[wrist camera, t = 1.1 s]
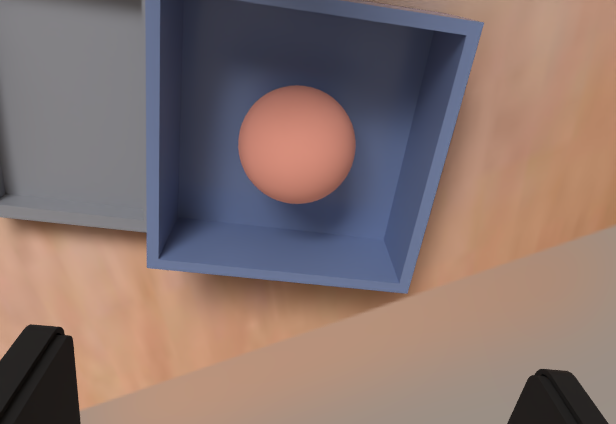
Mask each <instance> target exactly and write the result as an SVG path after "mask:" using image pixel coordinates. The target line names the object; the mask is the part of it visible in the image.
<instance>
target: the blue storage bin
mask: <svg viewBox="0 0 616 424" xmlns="http://www.w3.org/2000/svg"><path fill="white" fill-rule="evenodd" d="M483 25H484V23H483V22H479V21H475V20H471V19H467V18H463V17H459V16H454V15H450V14H446V13H439V12H433V11H427V10H420V9H414V8H407V7H401V6H395V5H388V4H382V3H375V2H369V1H362V0H145V28H146V205H147V268H153V269H163V270H173V271H183V272H194V273H204V274H214V275H224V276H234V277H244V278H254V279H264V280H275V281H285V282H295V283H305V284H315V285H325V286H335V287H345V288H356V289H366V290H376V291H386V292H396V293H406V294H407V293H408V290H409V286H410V283H411V279H412V276H413V272H414V269H415V265H416V261H417V258H418V254H419V251H420V247H421V244H422V240H423V237H424V233H425V230H426V226H427V223H428V219H429V216H430V212H431V208H432V205H433V201H434V198H435V194H436V191H437V187H438V184H439V180H440V177H441V173H442V170H443V166H444V163H445V159H446V155H447V152H448V148H449V145H450V141H451V138H452V134H453V131H454V127H455V124H456V120H457V117H458V113H459V110H460V106H461V102H462V99H463V95H464V92H465V88H466V85H467V81H468V78H469V74H470V71H471V67H472V64H473V60H474V57H475V53H476V49H477V46H478V42H479V39H480V35H481V32H482V28H483ZM294 85H300V86H308V87H313V88H316V89H318V90H321V91H323V92H325V93H327V94H328V95H330V96H331V97H333V98H334V99H335V100H336V101H337V102H338V103H339V104H340V105H341V106H342V107H343V109H344V110H345V111H346V113H347V115H348V116H349V118H350V120H351V123H352V125H353V129H354V133H355V140H356V150H355V157H354V160H353V164H352V167H351V169H350V171H349V173H348V175H347V177H346V178H345V179H344V181H343V182H342V183H341V185H340V186H339V187H338V188H337V189H336V190H334V191H333V192H332V193H330V194H329V195H327V196H326V197H324V198H322V199H319V200H317V201H314V202H310V203H304V204H290V203H284V202H281V201H277V200H275V199H273V198H270V197H269V196H267V195H265V194H264V193H263V192H261V191H260V190H259V189H258V188H257V187H256V186H255V185H254V184H253V183H252V182H251V181H250V179H249V178H248V176H247V175H246V173H245V171H244V169H243V166H242V164H241V160H240V157H239V150H238V139H239V132H240V128H241V125H242V122H243V120H244V118H245V116H246V114H247V113H248V111H249V110H250V108H251V107H252V106H253V105H254V103H255V102H256V101H258V100H259V99H260V98H261V97H262V96H264V95H265V94H267V93H269V92H271V91H273V90H275V89H278V88H281V87H286V86H294Z"/></svg>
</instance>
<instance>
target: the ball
mask: <svg viewBox="0 0 616 424" xmlns="http://www.w3.org/2000/svg"><path fill="white" fill-rule="evenodd" d="M238 150H239V157H240V160H241V164H242V166H243V169H244V171H245V173H246V175H247V176H248V178H249V179H250V181H251V182H252V183H253V184H254V185H255V186H256V187H257V188H258V189H259V190H260V191H261V192H263V193H264V194H265V195H267V196H269V197H270V198H273V199H275V200H277V201H281V202H284V203H290V204H304V203H310V202H314V201H317V200H319V199H322V198H324V197H326V196H327V195H329V194H330V193H332V192H333V191H334V190H336V189H337V188H338V187H339V186H340V185H341V183H342V182H343V181H344V179H345V178H346V177H347V175H348V173H349V171H350V169H351V167H352V164H353V160H354V157H355V150H356V140H355V133H354V129H353V125H352V123H351V120H350V118H349V116H348V115H347V113H346V111H345V110H344V109H343V107H342V106H341V105H340V104H339V103H338V102H337V101H336V100H335V99H334V98H333V97H331V96H330V95H328V94H327V93H325V92H323V91H321V90H318V89H316V88H313V87H308V86H300V85H294V86H286V87H281V88H278V89H275V90H273V91H271V92H269V93H267V94H265V95H264V96H262V97H261V98H260V99H259V100H258V101H256V102H255V103H254V105H253V106H252V107H251V108H250V110H249V111H248V113H247V114H246V116H245V118H244V120H243V122H242V125H241V128H240V132H239V139H238Z"/></svg>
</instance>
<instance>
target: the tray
mask: <svg viewBox="0 0 616 424" xmlns="http://www.w3.org/2000/svg"><path fill="white" fill-rule="evenodd" d="M0 217H4V218H13V219H23V220H32V221H42V222H51V223H61V224H70V225H80V226H89V227H99V228H108V229H118V230H127V231H137V232H146V233H147V205H146V28H145V0H0Z"/></svg>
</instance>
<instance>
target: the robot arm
mask: <svg viewBox="0 0 616 424" xmlns="http://www.w3.org/2000/svg"><path fill="white" fill-rule="evenodd" d="M0 424H80V413H79V401H78V390H77V379H76V368H75V357H74V346H73V338H72V337H71V336H68V335H65V334H64V330H63V329H62V328H61V327H54V326H42V325H28V326H27V327H26V328H25V329H24V330H23V331H22V333H21V334H20V335H19V337H18V338H17V339H16V341H15V342H14V343H13V345H12V346H11V347H10V349H9V350H8V351H7V353H6V354H5V355H4V356H3V358H2V359H1V360H0ZM507 424H608V422H607V421H606V419H605V418H604V417H603V415H602V414H601V413H600V411H599V410H598V408H597V407H596V406H595V404H594V403H593V401H592V400H591V399H590V397H589V396H588V394H587V393H586V392H585V390H584V389H583V387H582V386H581V385H580V383H579V382H578V380H577V379H576V377H575V376H574V375H573V374H572V373H570V372H568V371H560V370H549V369H540V370H538V371H537V372H536V373H535V375H532V376H530V377H529V378H528V380H527V382H526V384H525V387H524V388H523V391H522V393H521V395H520V397H519V399H518V401H517V404H516V406H515V408H514V411H513V412H512V415H511V417H510V419H509V421H508V423H507Z"/></svg>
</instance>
